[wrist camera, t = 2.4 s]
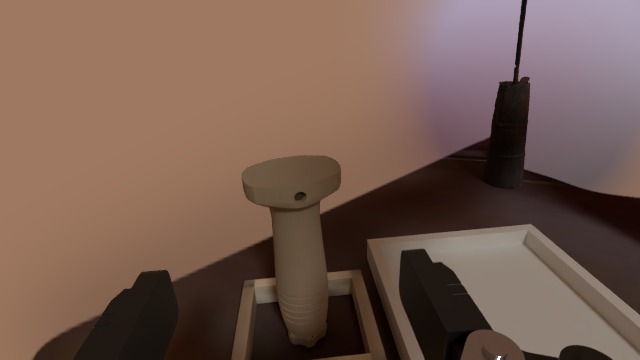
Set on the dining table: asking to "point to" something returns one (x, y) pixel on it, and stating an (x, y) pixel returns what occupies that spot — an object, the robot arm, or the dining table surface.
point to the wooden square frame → (337, 286)
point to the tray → (513, 291)
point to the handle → (297, 236)
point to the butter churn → (509, 126)
